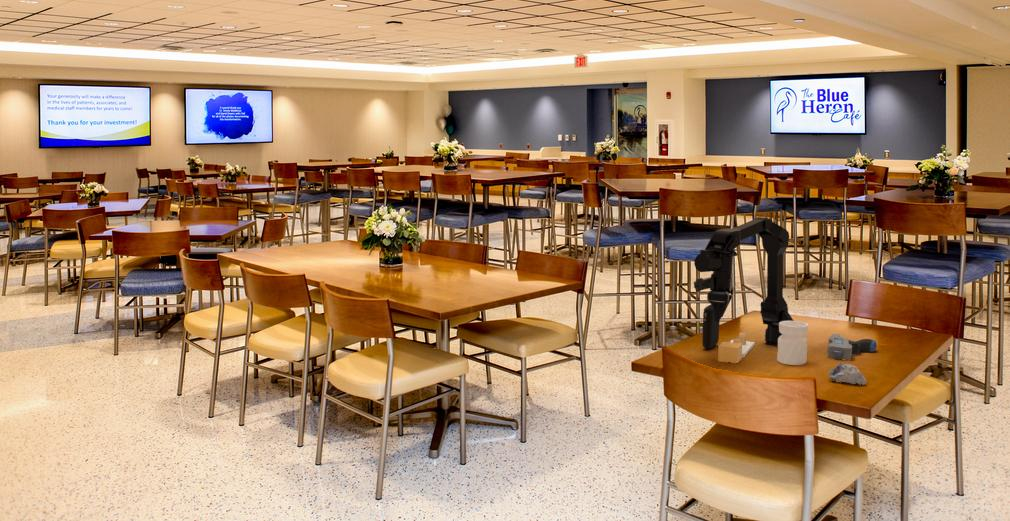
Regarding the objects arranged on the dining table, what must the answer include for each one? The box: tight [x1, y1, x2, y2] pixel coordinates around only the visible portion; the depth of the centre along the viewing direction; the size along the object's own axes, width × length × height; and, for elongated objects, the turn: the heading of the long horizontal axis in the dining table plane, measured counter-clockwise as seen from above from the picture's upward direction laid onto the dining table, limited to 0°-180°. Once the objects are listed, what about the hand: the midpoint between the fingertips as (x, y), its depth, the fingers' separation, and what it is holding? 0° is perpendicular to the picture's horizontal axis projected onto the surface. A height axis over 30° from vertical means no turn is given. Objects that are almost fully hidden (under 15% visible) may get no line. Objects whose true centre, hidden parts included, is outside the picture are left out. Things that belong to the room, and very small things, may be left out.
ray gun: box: [827, 333, 878, 361], centre depth 276 cm, size 4×19×15 cm
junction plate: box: [729, 332, 756, 358], centre depth 281 cm, size 8×17×4 cm, turn 153°
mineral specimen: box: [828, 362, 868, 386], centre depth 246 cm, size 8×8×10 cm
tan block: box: [717, 341, 743, 364], centre depth 269 cm, size 6×6×5 cm
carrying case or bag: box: [701, 303, 720, 350], centre depth 282 cm, size 11×3×15 cm, turn 145°
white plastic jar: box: [776, 320, 809, 366], centre depth 267 cm, size 9×9×12 cm
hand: (718, 319), depth 269 cm, fingers open, 9 cm apart
